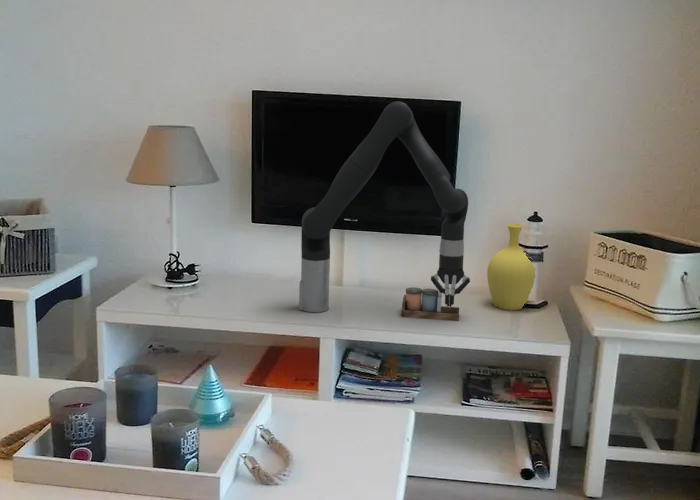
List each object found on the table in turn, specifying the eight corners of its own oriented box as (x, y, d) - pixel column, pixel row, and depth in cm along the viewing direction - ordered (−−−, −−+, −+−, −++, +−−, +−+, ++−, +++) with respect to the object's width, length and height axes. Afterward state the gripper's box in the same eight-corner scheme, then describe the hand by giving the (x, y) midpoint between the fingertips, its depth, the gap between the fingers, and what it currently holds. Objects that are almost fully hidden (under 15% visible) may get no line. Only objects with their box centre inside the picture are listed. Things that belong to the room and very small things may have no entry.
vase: (485, 310, 262) (491, 228, 256) (484, 297, 277) (489, 219, 271) (534, 313, 260) (542, 231, 254) (530, 300, 275) (537, 222, 269)
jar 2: (419, 316, 250) (420, 292, 248) (422, 311, 255) (423, 287, 253) (435, 318, 248) (436, 293, 247) (438, 313, 253) (439, 289, 251)
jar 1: (404, 315, 250) (405, 291, 248) (405, 310, 255) (406, 287, 253) (421, 316, 249) (421, 292, 247) (421, 311, 254) (422, 287, 252)
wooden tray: (401, 319, 249) (402, 301, 247) (403, 312, 257) (404, 294, 255) (458, 323, 246) (459, 305, 245) (458, 316, 254) (459, 298, 253)
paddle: (436, 317, 248) (437, 297, 247) (436, 312, 254) (438, 291, 252) (440, 317, 248) (441, 297, 246) (440, 312, 254) (441, 292, 252)
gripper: (472, 251, 249) (469, 303, 252) (430, 249, 250) (428, 301, 254) (473, 256, 241) (470, 310, 245) (430, 254, 243) (427, 308, 247)
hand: (449, 305), depth 250 cm, fingers closed
